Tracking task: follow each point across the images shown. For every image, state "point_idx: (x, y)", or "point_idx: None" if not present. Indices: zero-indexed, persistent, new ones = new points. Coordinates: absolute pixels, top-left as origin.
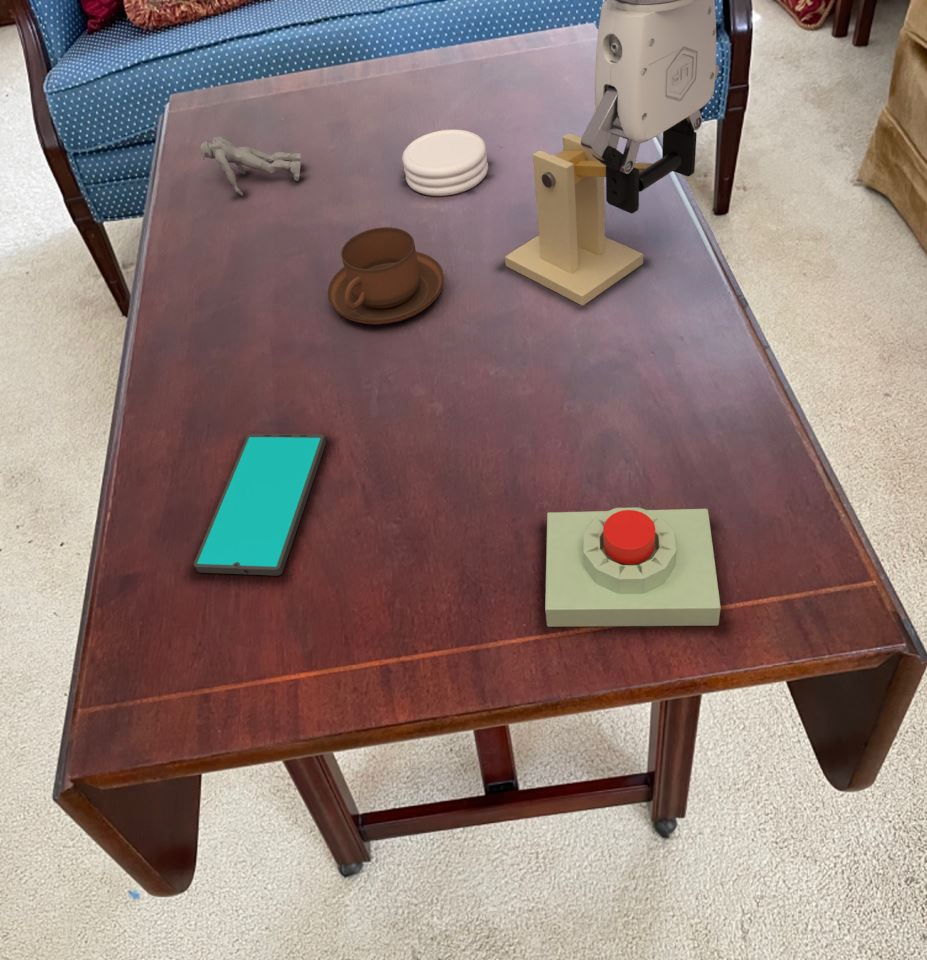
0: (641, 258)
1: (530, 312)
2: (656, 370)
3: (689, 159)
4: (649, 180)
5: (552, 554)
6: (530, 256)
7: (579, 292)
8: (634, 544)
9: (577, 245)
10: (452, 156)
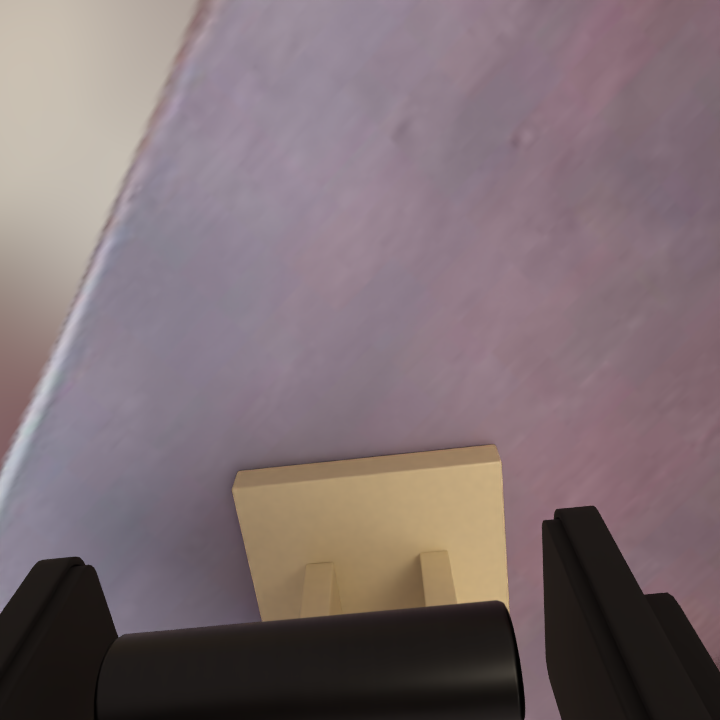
0: (242, 481)
1: (608, 513)
2: (572, 65)
3: (35, 642)
4: (448, 636)
5: None
6: None
7: (493, 478)
8: None
9: None
10: None
